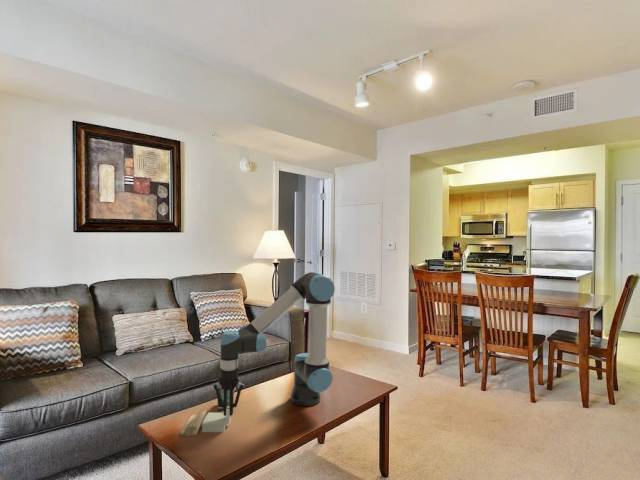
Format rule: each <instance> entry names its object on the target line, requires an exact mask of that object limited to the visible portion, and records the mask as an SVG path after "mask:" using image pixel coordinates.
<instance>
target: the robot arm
mask: <svg viewBox="0 0 640 480" xmlns="http://www.w3.org/2000/svg"><path fill="white" fill-rule="evenodd" d="M335 290H336V288H335V283H334V281H333V280H332V278H330V277H329V276H328V275H325V274H322V273H317V272H312V271H311V272H307V273H305V274H303V275H302V276H300V277H299V278H298V279H297V280H296V281H294V282H293V283H292V284H290V286H289V289H288V290H287V291H285V293H283V294H282V295H281V296H280V297H279V298H278V299H277V300H275V301H274V302H273V303H271V305H270V306H268V307H267V308H266V309H265V310H264V311H262V313H260V314H259V315H258V316H256V318H255V319H253V320H252V321H251V322H250V323H248V324H247V325H245V326H242V327H240V328H239V329H237V331H236V330H225V331H224V332H222V333H221V335H220V342H219V343H220V357H219V358H220V362H219V365H220V366H219V368H220V370H219V380H218V382H215V383H214V384H213V389H214V390H215V392H216V393H215V394H216V398H217V404H218V403H219V407H223V408H224V410H223V413H224V416H226V424H227V425H230V423H231V417H232V416H233V415H234V408H236V407H238V403H239V400H240V396H241V393H242V390H243V388H244V387H245V383H244V382H241V381H240V380H239V355H240V354H247V353H248V354H249V353H260V352H264V351H266V349H267V337H266V335H265V334H264V332H266V330H268V329H269V328H271V326H273V324H275V323H276V322H277V321H278V320H279V319H281V317H283V316H284V315H285V314H287V313H288V312H289V311H290V310H291V309H292V308H293V307H294V306H295V305H297V304H298V303H299V302H301V301H302V302H303V301H304V300H305V304H306V305H308V333H307V334H308V340H307V341H308V343H307V345H308V346H307V352H302V353H298V354H296V355H295V357H294V362H293V363H294V373H293V374H294V377H293V379H294V380H293V381H294V382H293V386H292V389H291V393H290V401H291V403H292V404H294V405H296V406H301V407H311V406H314V405H317V404H320V402H321V398H322V397H321V393H324V392H325V391H327V390H328V389H329V388H330V387H331V385H332V383H333V379H334V378H333V373H332V372H331V370H330V360H329V358H328V357H327V337H328V336H327V334H328V333H327V330H328V329H327V328H328V327H327V326H328V307H329V305H330V304H331V302H332V301H331V298H332V297H333V296H334V294H335ZM235 387H237V388H238V390H237V393H236V396H235V391H234V388H235ZM221 388H223V389H224V403H223V400H222V395H221V391H220V389H221ZM228 390H230V406H227V405H228V404H227V402H228ZM234 398H235V399H234Z"/></svg>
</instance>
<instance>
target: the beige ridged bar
mask: <svg viewBox="0 0 640 480" xmlns="http://www.w3.org/2000/svg"><path fill="white" fill-rule="evenodd" d="M207 410H208V409H205V408H204V409H201V408H200V409H199V410H198V411H197V414H192V415H191V416H190V417H189V418H188V420H187V422H186V424H185V425H184V427H183V428H182V430H181V431H180V434H179V436H182V437H183V436H184V437H185V436H188V437H189V436H192V437H194V436H195V437H196V436H197V435H198V434H199V431H200V430H201V429H202V423H203V421H204V419H205V418H206V416H207V414H208V413H207V412H208V411H207Z"/></svg>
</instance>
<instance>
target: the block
mask: <svg viewBox="0 0 640 480" xmlns="http://www.w3.org/2000/svg"><path fill="white" fill-rule="evenodd" d="M227 426H228V424H226V416H224V412H208V413H207V416H206V418H205V419H204V421H203V423H202V426H201V433H224V432H225V430H226V428H227Z"/></svg>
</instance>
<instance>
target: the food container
mask: <svg viewBox="0 0 640 480" xmlns="http://www.w3.org/2000/svg"><path fill="white" fill-rule="evenodd" d="M236 387H237V386H236ZM236 387H235V388H234V392H235V391H236V389H237V388H236ZM220 391H221V395H222V400H223V403H224V389H223V388H222V387H220ZM227 404H228V405H227V406H230V390H228V402H227ZM217 410H218V411H224V408H223V407H219V403H218V402H217Z"/></svg>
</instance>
